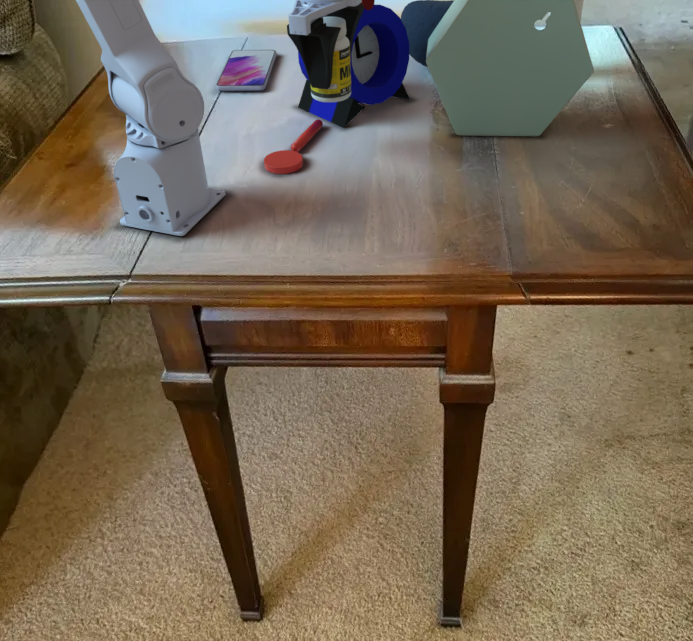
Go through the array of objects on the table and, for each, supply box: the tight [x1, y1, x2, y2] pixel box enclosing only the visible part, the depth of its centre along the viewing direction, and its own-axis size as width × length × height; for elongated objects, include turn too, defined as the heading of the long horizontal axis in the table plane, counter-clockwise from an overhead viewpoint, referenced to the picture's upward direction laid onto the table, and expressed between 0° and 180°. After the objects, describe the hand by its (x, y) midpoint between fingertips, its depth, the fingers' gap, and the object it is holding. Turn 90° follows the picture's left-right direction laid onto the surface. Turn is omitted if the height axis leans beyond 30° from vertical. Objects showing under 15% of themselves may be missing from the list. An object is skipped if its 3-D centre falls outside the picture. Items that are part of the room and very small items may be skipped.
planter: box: [426, 0, 595, 137], centre depth 92 cm, size 17×8×21 cm
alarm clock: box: [297, 0, 411, 129], centre depth 100 cm, size 12×12×15 cm
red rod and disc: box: [263, 119, 324, 175], centre depth 94 cm, size 13×5×1 cm, turn 158°
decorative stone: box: [400, 0, 454, 68], centre depth 110 cm, size 12×12×10 cm
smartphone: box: [215, 49, 278, 92], centre depth 114 cm, size 7×1×15 cm
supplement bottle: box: [311, 17, 351, 102], centre depth 86 cm, size 5×5×8 cm
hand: (329, 78), depth 88 cm, fingers closed on supplement bottle, 5 cm apart
